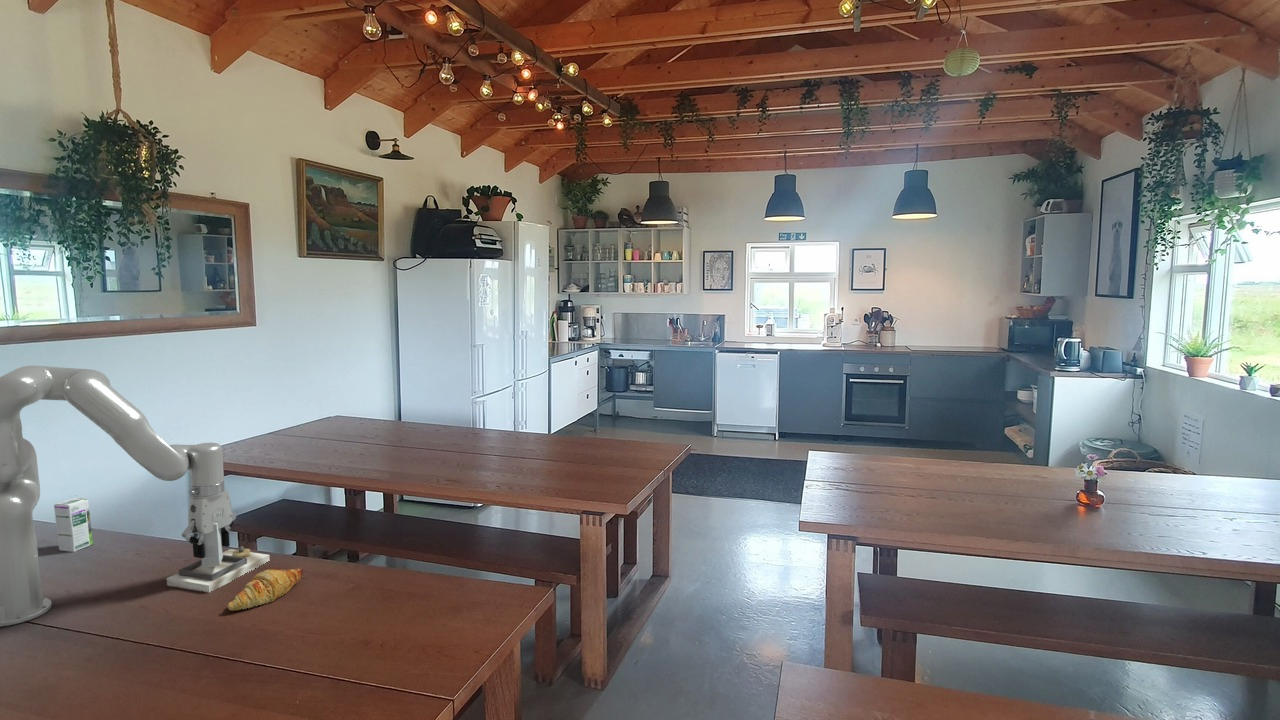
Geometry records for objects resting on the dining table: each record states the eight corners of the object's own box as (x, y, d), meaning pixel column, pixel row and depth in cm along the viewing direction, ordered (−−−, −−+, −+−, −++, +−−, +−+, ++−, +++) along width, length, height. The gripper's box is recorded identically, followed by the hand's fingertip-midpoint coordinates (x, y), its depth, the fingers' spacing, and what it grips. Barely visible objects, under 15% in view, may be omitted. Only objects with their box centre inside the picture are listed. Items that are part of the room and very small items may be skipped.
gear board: (209, 592, 174) (208, 576, 174) (167, 585, 178) (165, 569, 177) (269, 561, 194) (268, 546, 193) (230, 555, 197) (229, 540, 197)
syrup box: (74, 552, 197) (69, 505, 195) (58, 550, 198) (53, 503, 197) (93, 544, 203) (89, 498, 201) (77, 543, 204) (73, 497, 202)
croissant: (238, 630, 163) (247, 606, 161) (211, 605, 166) (219, 581, 163) (309, 590, 183) (318, 569, 180) (284, 569, 185) (292, 547, 183)
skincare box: (205, 559, 185) (202, 518, 184) (223, 557, 187) (220, 516, 185) (201, 568, 180) (198, 525, 178) (220, 566, 181) (217, 523, 180)
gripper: (190, 500, 171) (194, 566, 174) (245, 481, 188) (249, 541, 190) (167, 497, 173) (171, 562, 175) (224, 478, 190) (227, 538, 192)
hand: (212, 551), depth 183 cm, fingers closed on skincare box, 7 cm apart
